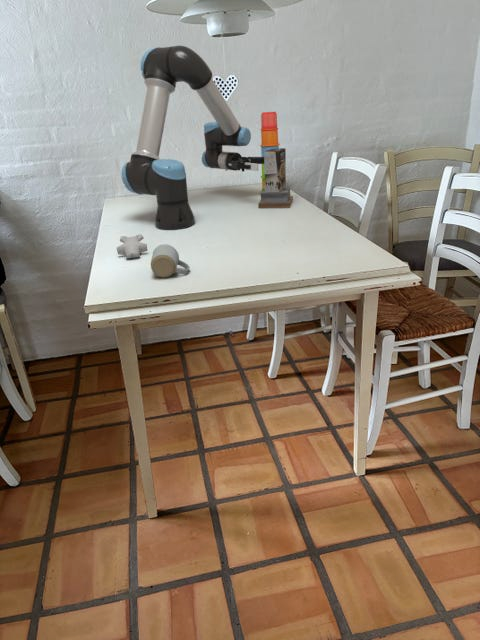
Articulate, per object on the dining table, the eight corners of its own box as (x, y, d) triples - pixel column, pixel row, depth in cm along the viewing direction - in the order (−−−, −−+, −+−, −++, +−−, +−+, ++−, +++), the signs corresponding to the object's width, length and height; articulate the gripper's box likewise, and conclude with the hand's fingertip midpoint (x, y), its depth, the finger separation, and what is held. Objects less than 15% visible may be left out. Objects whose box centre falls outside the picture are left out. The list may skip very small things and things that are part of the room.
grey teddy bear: (115, 250, 147) (115, 231, 159) (118, 265, 150) (118, 245, 162) (146, 246, 148) (144, 228, 160) (149, 261, 151) (146, 242, 163)
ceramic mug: (151, 280, 134) (148, 253, 130) (154, 269, 141) (151, 244, 137) (189, 277, 134) (187, 251, 131) (190, 267, 141) (188, 242, 138)
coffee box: (279, 192, 195) (278, 151, 188) (264, 192, 198) (263, 151, 190) (286, 187, 202) (286, 147, 195) (272, 187, 205) (271, 147, 197)
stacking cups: (257, 193, 222) (254, 113, 206) (265, 189, 230) (263, 111, 215) (278, 194, 218) (277, 112, 203) (285, 189, 227) (284, 110, 211)
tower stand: (289, 208, 196) (289, 193, 193) (258, 208, 198) (257, 193, 195) (292, 200, 207) (292, 186, 204) (263, 200, 209) (262, 186, 207)
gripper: (249, 165, 220) (286, 168, 208) (211, 174, 204) (248, 179, 191) (248, 148, 217) (286, 150, 204) (210, 156, 201) (248, 159, 188)
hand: (268, 164), depth 198 cm, fingers open, 13 cm apart
